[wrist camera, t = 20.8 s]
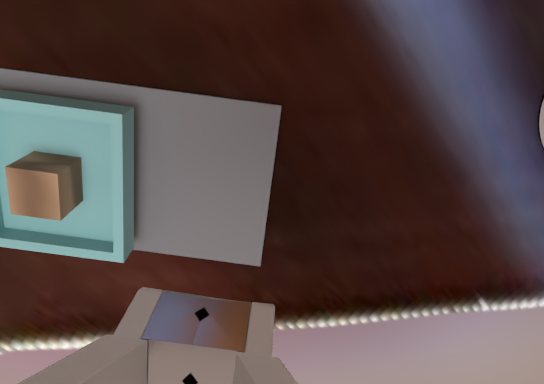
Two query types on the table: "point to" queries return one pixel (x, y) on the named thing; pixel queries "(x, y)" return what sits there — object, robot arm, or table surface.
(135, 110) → the grey rectangular mat
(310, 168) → the table surface
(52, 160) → the walnut block
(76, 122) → the cyan square tray
